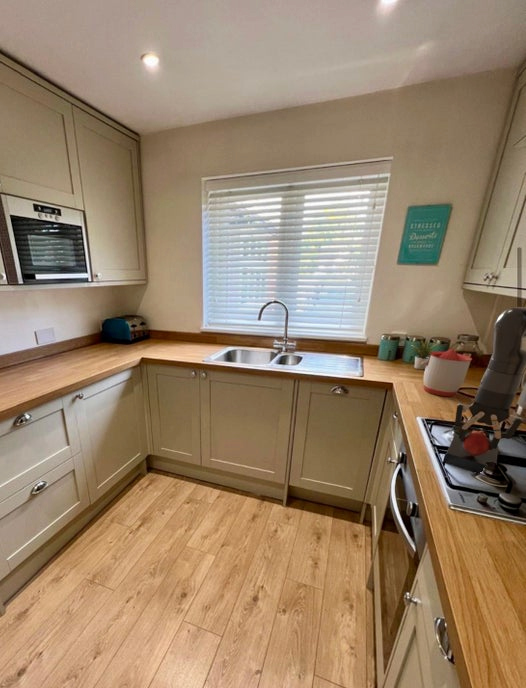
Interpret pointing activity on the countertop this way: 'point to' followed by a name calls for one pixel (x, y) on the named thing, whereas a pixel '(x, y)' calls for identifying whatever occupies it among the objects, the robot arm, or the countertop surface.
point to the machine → (468, 456)
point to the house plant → (423, 354)
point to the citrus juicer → (445, 372)
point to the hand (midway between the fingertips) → (475, 444)
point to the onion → (476, 443)
